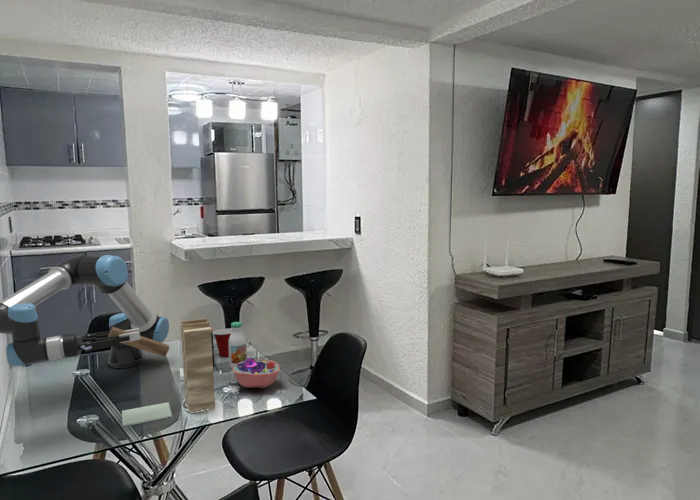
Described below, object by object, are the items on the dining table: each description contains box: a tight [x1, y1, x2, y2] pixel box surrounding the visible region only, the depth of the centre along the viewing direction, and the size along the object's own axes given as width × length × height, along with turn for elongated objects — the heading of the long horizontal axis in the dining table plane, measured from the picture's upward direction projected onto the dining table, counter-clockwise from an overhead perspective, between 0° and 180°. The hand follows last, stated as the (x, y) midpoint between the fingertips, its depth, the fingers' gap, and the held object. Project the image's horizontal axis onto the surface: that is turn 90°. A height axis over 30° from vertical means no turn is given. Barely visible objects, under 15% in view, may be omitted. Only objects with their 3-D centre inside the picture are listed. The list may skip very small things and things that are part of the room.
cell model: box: [231, 357, 281, 389], centre depth 207 cm, size 17×20×11 cm
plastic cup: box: [212, 328, 232, 358], centre depth 244 cm, size 11×11×12 cm
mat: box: [121, 401, 173, 428], centre depth 184 cm, size 12×16×1 cm
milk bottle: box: [228, 321, 248, 370], centre depth 228 cm, size 8×8×20 cm
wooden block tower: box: [180, 317, 216, 414], centre depth 189 cm, size 12×9×32 cm
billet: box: [108, 327, 170, 357], centre depth 180 cm, size 4×20×4 cm, turn 116°
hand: (139, 333), depth 179 cm, fingers closed on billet, 3 cm apart
